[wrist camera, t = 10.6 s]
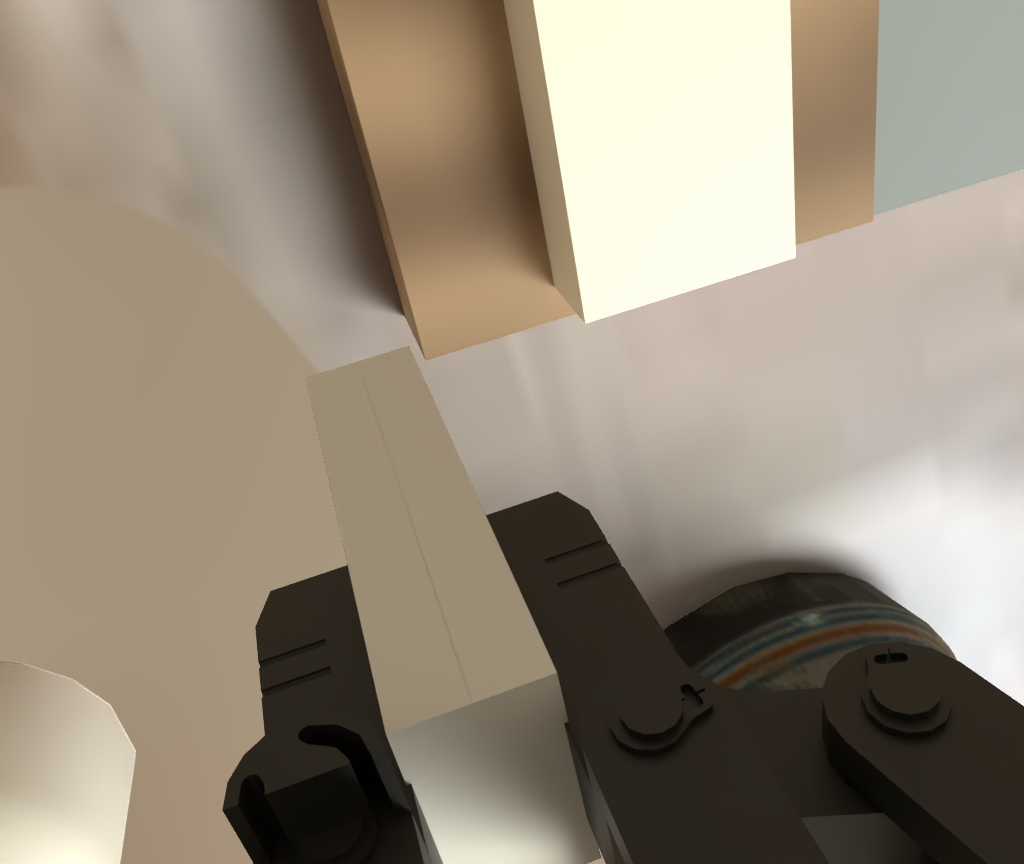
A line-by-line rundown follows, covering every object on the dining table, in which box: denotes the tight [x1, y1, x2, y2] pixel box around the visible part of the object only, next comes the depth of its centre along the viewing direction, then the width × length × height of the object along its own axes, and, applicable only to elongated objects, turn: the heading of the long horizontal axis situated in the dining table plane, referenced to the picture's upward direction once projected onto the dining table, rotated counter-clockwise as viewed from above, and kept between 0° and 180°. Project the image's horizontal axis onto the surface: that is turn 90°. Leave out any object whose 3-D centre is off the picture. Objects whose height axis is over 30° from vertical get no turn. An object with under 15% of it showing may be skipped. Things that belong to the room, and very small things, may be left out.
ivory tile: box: [503, 0, 796, 324], centre depth 24 cm, size 9×6×2 cm, turn 11°
